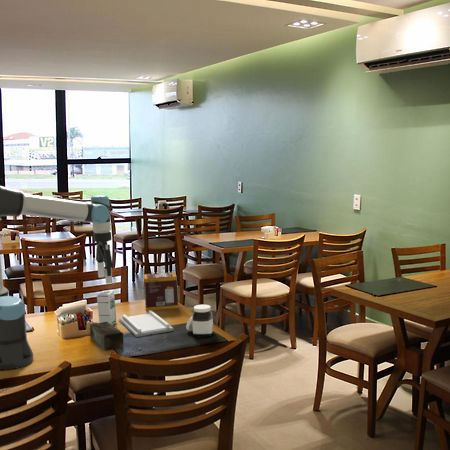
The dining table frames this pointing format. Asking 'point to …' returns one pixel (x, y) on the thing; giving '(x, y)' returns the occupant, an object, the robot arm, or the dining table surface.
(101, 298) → the syrup box
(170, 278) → the supplement box
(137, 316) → the panel
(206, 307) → the spread jar
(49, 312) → the dining table surface
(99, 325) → the dark grey rectangular block
